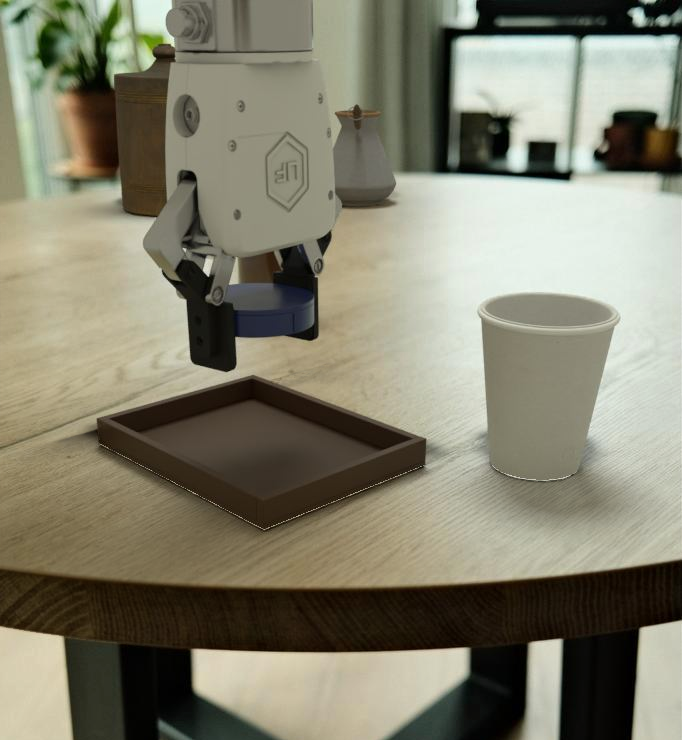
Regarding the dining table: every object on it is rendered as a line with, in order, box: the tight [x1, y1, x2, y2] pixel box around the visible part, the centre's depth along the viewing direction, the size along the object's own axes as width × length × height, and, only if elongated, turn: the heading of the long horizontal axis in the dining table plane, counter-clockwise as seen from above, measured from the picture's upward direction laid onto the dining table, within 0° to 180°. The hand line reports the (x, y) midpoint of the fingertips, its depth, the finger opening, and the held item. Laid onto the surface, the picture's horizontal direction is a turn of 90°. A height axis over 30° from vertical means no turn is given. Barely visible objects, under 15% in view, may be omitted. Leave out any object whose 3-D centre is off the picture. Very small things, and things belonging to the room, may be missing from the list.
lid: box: [224, 283, 314, 339], centre depth 61 cm, size 7×7×2 cm
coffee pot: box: [333, 103, 397, 207], centre depth 147 cm, size 21×12×15 cm, turn 178°
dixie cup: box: [476, 291, 621, 480], centre depth 63 cm, size 8×8×10 cm
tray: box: [96, 374, 427, 529], centre depth 65 cm, size 17×13×2 cm
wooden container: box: [113, 43, 176, 217], centre depth 145 cm, size 15×15×22 cm
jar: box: [236, 251, 283, 284], centre depth 90 cm, size 7×7×10 cm
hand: (256, 349), depth 63 cm, fingers closed on lid, 7 cm apart
